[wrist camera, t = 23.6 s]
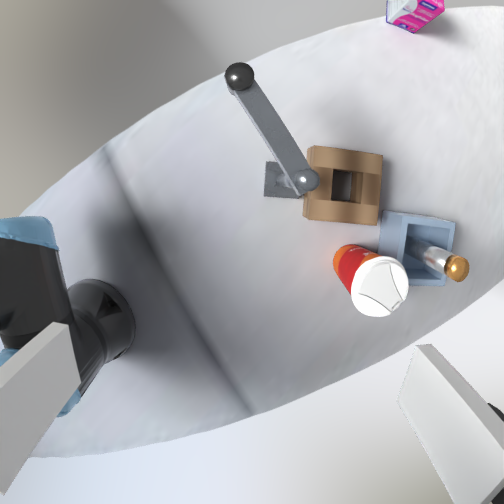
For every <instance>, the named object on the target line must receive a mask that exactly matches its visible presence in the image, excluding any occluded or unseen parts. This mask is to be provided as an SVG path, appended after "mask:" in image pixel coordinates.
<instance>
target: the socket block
mask: <svg viewBox="0 0 504 504" xmlns="http://www.w3.org/2000/svg"><path fill="white" fill-rule="evenodd" d="M382 161H383V155H378V154H372V153H366V152H359V151H353V150H346V149H339V148H331V147H323V146H315V145H314V146H312V147H310V148H308V149H307V162H308V164H309V166H310V167H311V169H313V170H315V171H316V172H317V173H318V175H319V177H320V185H319V186H318V187H317V188H316V189H315V190H313V191H308V192H306V193H305V194H304V205H303V216H304V217H306V218H307V219H308V220H318V221H330V222H342V223H353V224H364V225H375V226H377V220H378V211H379V201H380V189H381V177H382ZM333 170H334V171H342V172H350V173H352V182H351V194H350V201H342V200H333V199H331V192H332V179H333Z"/></svg>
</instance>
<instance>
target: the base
mask: <svg viewBox="0 0 504 504" xmlns="http://www.w3.org/2000/svg"><path fill="white" fill-rule="evenodd" d="M280 174H284V172H283V170H282V169H281V167H280V165H279V164H278V162H266V167H265V183H264V196H268V197H282V198H295V199H299V195H297V194H296V192H295V190H294V189H293V188H288V187H283V186H280V185H278V183H277V177H278V176H279V175H280Z"/></svg>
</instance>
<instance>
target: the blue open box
mask: <svg viewBox="0 0 504 504" xmlns="http://www.w3.org/2000/svg"><path fill="white" fill-rule="evenodd" d="M455 224H456V223H455V222H451V221H447V220H444V219H440V218H436V217H431V216H424V215H417V214H409V213H402V212H394V211H386V210H383V214H382V223H381V231H380V239H379V246H378V253H377V254H379V255H381V256H387V257H391V258H394V259H396V260H397V261H399V262H400V263H401V264H402V265H403V267H404V269H405V271H406V274H407V277H408V285H412V286H445V282H446V277H447V276H446V275H444V274H442V273H440V272H439V271H437V270H435V269H433V268H431V267H429V266H427V265H426V264H424V263H422V262H420V261H418V260H416V259H414V258H412V257H411V256H409V255H407V254H405V253H404V248H405V241H406V236H412V237H414V238H417V239H419V240H422V241H424V242H427V243H429V244H432V245H434V246H437V247H439V248H441V249H444V250H446V251H448V252H451V251H452V245H453V238H454V232H455Z"/></svg>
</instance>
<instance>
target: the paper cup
mask: <svg viewBox="0 0 504 504" xmlns="http://www.w3.org/2000/svg"><path fill="white" fill-rule="evenodd" d="M333 266H334V270H335V272H336V273H337V275H338V277H339V278H340V280H341V281H342V283H343V284H344V286H345V287H346V289H347V290H348V291H349V293H350V294H351V296H352V300H353V303H354V305H355V306H356V308H357V309H358V310H359V311H360V312H362V313H363V314H365V315H368V316H375V317H383V316H387V315H389V314H391V313H390V312H392V311H393V310H394V311H395V310H396V309H397V308H398V307H399V306H400V305H401V303H402V302H403V301H404V300H405V298H406V296H407V293H408V286H409V285H408V277H407V274H406V271H405V269H404V267H403V265H402V264H401V263H400V262H399V261H397V260H396V259H394V258H391V257H387V256H381V255H379V254H376V253H374V252H372V251H369V250H367V249H365V248H362V247H360V246H357V245H351V244H350V245H345V246H343V247H341V248H340V249H339V250H338V251H337V252H336V254H335V256H334V259H333Z"/></svg>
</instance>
